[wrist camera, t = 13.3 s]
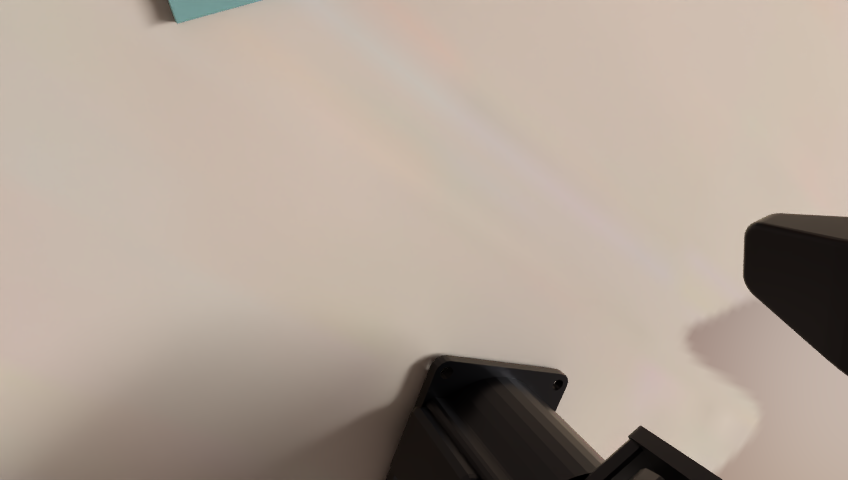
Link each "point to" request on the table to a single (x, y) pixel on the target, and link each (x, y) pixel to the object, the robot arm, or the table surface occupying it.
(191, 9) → the teal mat
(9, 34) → the table surface
